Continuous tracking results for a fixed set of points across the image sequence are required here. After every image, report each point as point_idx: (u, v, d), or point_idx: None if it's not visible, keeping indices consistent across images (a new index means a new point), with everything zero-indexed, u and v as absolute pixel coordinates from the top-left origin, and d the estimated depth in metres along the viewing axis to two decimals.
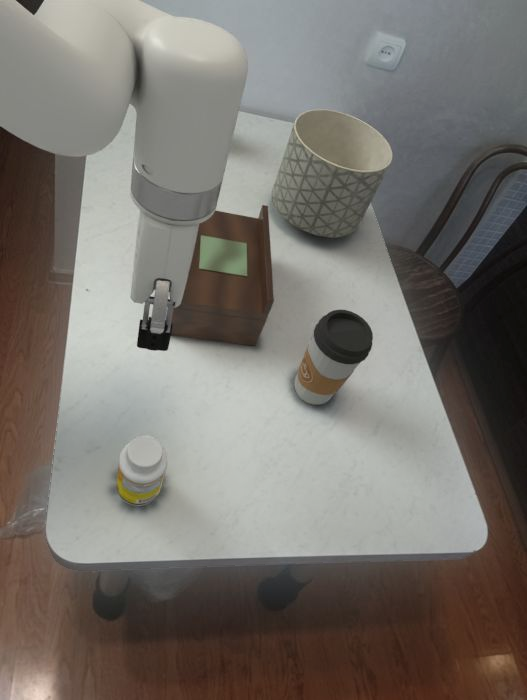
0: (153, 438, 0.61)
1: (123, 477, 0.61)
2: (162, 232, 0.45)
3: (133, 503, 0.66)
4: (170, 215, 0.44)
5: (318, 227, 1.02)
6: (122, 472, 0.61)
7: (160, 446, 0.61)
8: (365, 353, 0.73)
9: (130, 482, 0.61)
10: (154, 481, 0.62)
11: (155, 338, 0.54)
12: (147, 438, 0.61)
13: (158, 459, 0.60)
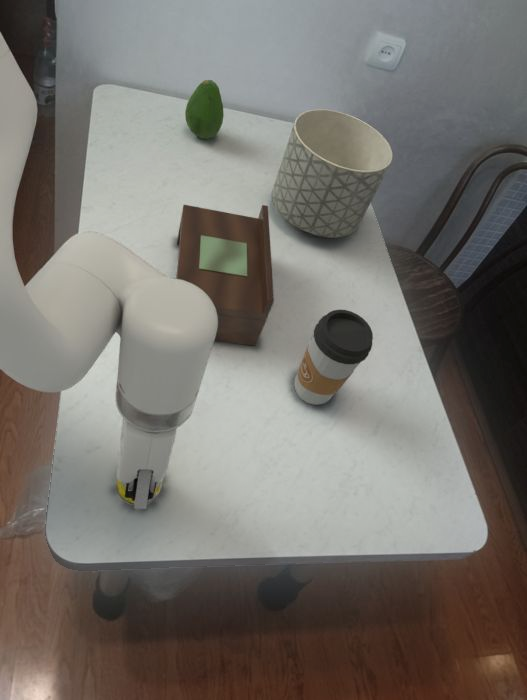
0: None
1: None
2: (144, 441, 0.49)
3: (133, 503, 0.66)
4: (150, 427, 0.49)
5: (318, 227, 1.02)
6: None
7: None
8: (365, 353, 0.73)
9: None
10: None
11: None
12: None
13: None
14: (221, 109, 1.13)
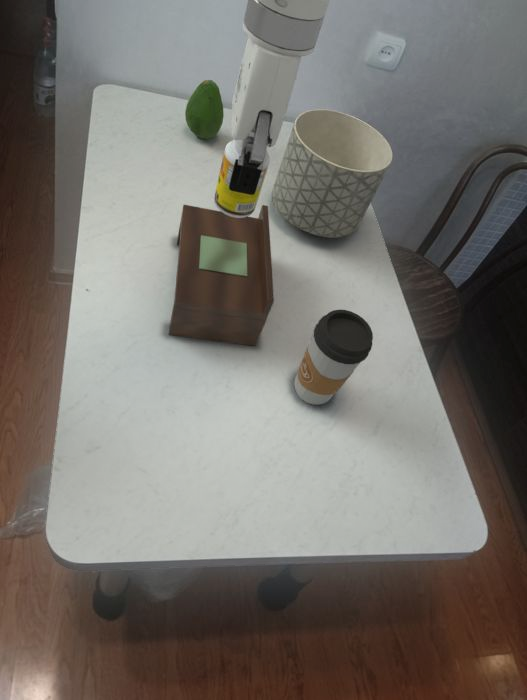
0: None
1: (229, 167, 0.64)
2: (273, 59, 0.52)
3: (232, 211, 0.68)
4: (280, 43, 0.51)
5: (318, 227, 1.02)
6: (229, 160, 0.63)
7: None
8: (365, 353, 0.73)
9: None
10: None
11: (247, 177, 0.62)
12: None
13: None
14: (221, 109, 1.13)
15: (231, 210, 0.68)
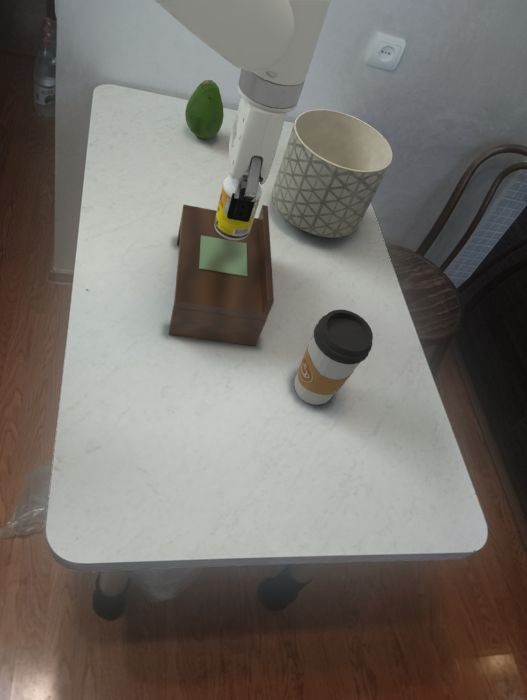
0: None
1: (227, 199, 0.75)
2: (263, 116, 0.63)
3: (230, 235, 0.79)
4: (269, 103, 0.62)
5: (318, 227, 1.02)
6: (227, 193, 0.74)
7: None
8: (365, 353, 0.73)
9: None
10: None
11: (242, 208, 0.73)
12: None
13: None
14: (221, 109, 1.13)
15: (229, 234, 0.79)
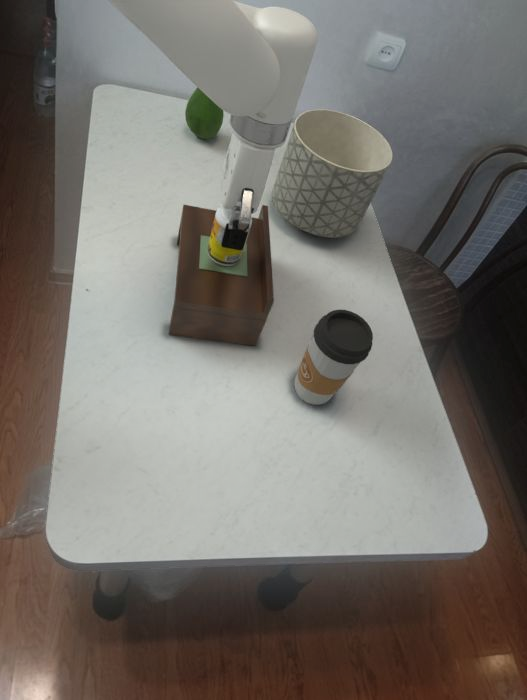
0: None
1: (219, 228, 0.79)
2: (253, 152, 0.66)
3: (222, 261, 0.83)
4: (258, 140, 0.66)
5: (318, 227, 1.02)
6: (219, 223, 0.78)
7: None
8: (365, 353, 0.73)
9: None
10: None
11: (236, 237, 0.75)
12: None
13: None
14: (221, 109, 1.13)
15: (221, 260, 0.83)
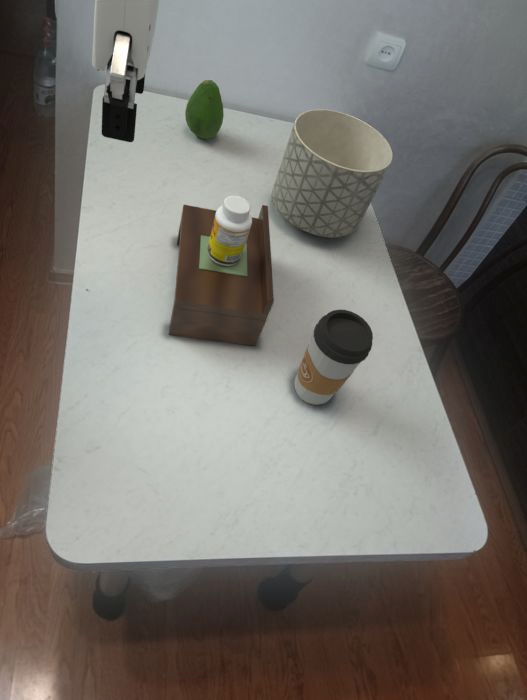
0: (242, 198, 0.79)
1: (219, 228, 0.79)
2: None
3: (222, 261, 0.83)
4: None
5: (318, 227, 1.02)
6: (219, 223, 0.78)
7: (248, 203, 0.79)
8: (365, 353, 0.73)
9: (225, 232, 0.79)
10: (243, 232, 0.79)
11: (119, 118, 0.52)
12: (238, 197, 0.79)
13: (248, 210, 0.78)
14: (221, 109, 1.13)
15: (221, 260, 0.83)
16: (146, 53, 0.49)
